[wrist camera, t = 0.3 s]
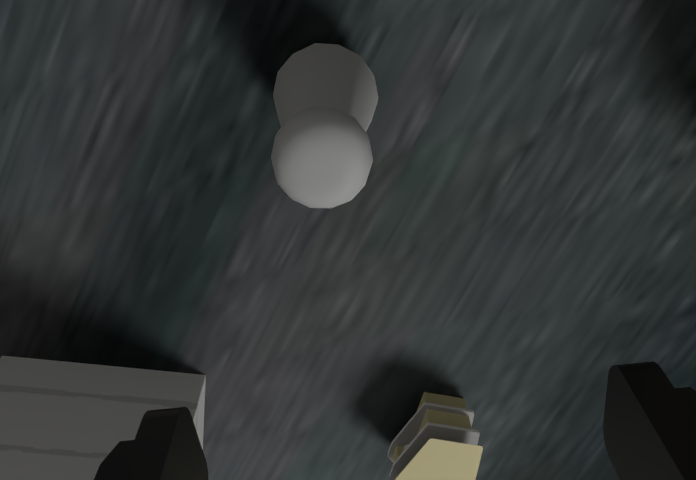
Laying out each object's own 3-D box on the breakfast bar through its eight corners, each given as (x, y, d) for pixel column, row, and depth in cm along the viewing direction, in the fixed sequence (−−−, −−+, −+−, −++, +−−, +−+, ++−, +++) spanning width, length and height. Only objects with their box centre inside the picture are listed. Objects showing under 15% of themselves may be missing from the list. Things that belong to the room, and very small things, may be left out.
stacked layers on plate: (390, 363, 48) (396, 415, 43) (502, 382, 49) (520, 435, 44) (359, 456, 53) (361, 512, 48) (462, 471, 54) (475, 528, 49)
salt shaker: (289, 22, 36) (267, 82, 24) (387, 49, 37) (410, 119, 25) (268, 119, 38) (239, 214, 27) (359, 142, 39) (369, 244, 28)
